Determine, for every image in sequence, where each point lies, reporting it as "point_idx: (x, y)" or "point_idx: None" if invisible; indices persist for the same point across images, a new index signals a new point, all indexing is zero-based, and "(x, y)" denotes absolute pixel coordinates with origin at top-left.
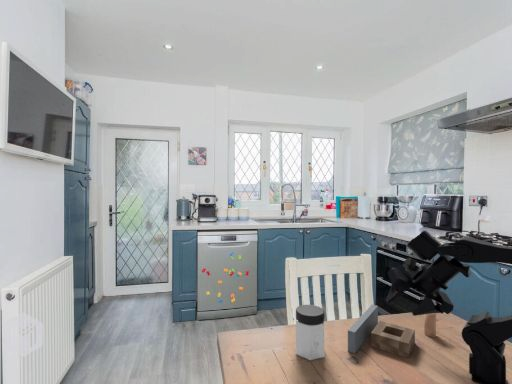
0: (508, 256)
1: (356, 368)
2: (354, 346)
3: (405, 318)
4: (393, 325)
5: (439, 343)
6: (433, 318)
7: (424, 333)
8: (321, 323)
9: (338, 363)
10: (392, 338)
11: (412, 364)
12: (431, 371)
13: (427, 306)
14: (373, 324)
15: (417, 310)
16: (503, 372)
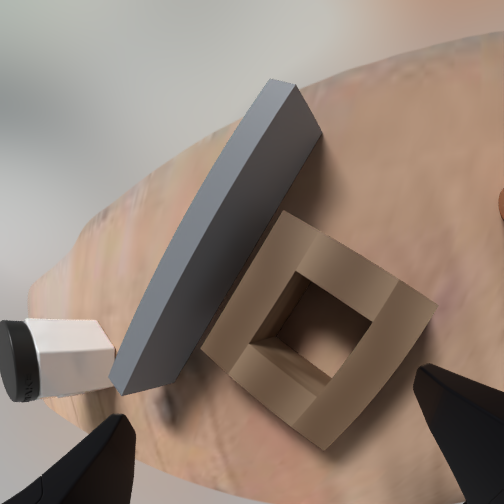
0: None
1: (167, 441)
2: (157, 386)
3: (445, 74)
4: (338, 260)
5: None
6: None
7: (499, 201)
8: (38, 394)
9: (136, 414)
10: (271, 407)
11: (330, 456)
12: (371, 486)
13: (499, 500)
14: (280, 183)
15: (445, 420)
16: None
